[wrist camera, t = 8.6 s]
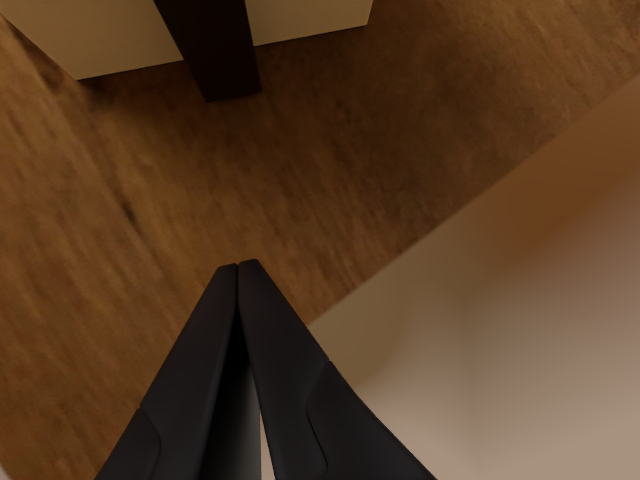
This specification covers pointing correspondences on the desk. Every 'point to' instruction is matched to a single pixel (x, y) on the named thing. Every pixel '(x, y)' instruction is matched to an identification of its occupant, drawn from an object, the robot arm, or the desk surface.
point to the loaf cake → (156, 29)
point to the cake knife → (214, 45)
